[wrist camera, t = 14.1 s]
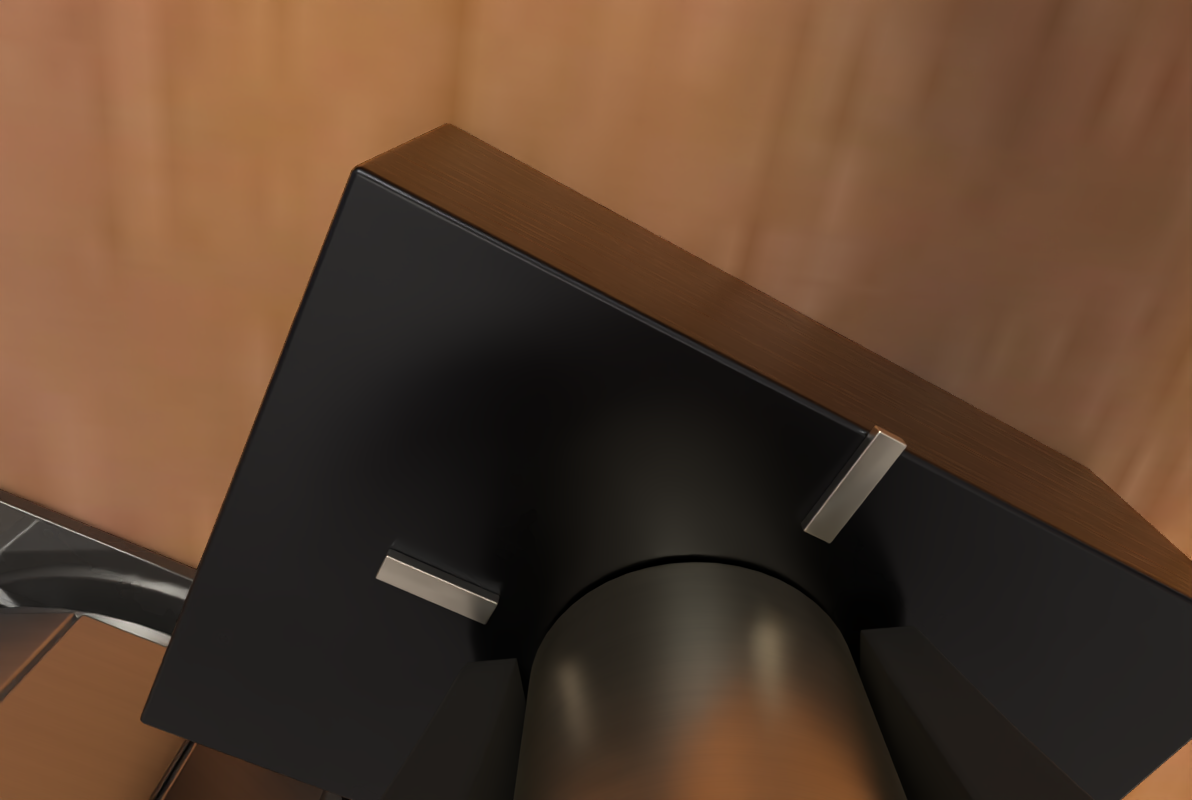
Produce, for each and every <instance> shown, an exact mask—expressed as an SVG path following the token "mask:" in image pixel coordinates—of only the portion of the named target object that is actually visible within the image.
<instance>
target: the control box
mask: <svg viewBox="0 0 1192 800" xmlns="http://www.w3.org/2000/svg"><path fill="white" fill-rule="evenodd" d="M683 562H711V563H721V564H728V565H735V566H740V567H744V568H748V569H751V570H755V571H759V572H762V573H764V574H767V575H769V576H772V577H774V578H777V579H779V580H781V581H783V582H785V583H787V584H788V585H790V586H792V587H794V588H796V589H797V590H799V591H800V592H802V593H803V594H804V595H806V596H807V597H808V598H810V599H811V600H812V601H814V602H815V603H816V604H817V605H818V606H819V607H820V608H821V609H822V610H823V611H824V612H825V613H826V614H827V615H828V616H829V617H830V618H831V619H832V621H833V622H834V624H835V625H836V626H837V628H838V629H839V630H840V632H841V634H842V636H843V638H844V640H845V642H846V644H847V645H848V648H849V650H850V653H851V655H852V658H853V661H854V663H855V666H856V668H857V671H858V674H859V676H860V633H861V630H868V629H880V628H892V627H905V626H914V627H916V628H917V629H918V630H919V631H921V632H922V633H923V634H924V635H925V636H926V637H927V638H928V639H929V640H930V641H931V642H932V643H933V644H934V645H935V647H936V648H937V649H938V650H939V651H940V652H941V653H942V654H943V655H944V656H945V657H946V658H947V659H948V660H949V661H950V662H951V663H952V664H953V665H954V666H955V667H956V668H957V669H958V670H959V671H960V672H961V673H962V674H963V675H964V676H965V677H966V678H967V679H968V680H969V681H970V682H971V683H972V684H973V685H974V686H975V687H976V688H977V689H978V690H979V691H980V692H981V693H982V694H983V695H984V696H985V697H986V698H987V699H988V700H989V701H990V702H991V703H992V704H993V705H994V706H995V707H996V708H997V709H998V710H999V711H1000V712H1001V713H1002V714H1003V715H1004V716H1005V717H1006V718H1007V719H1008V720H1009V721H1010V722H1011V723H1012V724H1013V725H1014V726H1015V727H1016V728H1017V729H1018V730H1020V731H1021V732H1022V733H1023V734H1024V735H1025V736H1026V737H1027V738H1028V739H1029V740H1030V741H1031V742H1032V743H1033V744H1034V745H1035V746H1037V747H1038V748H1039V749H1040V750H1041V751H1042V752H1043V753H1044V754H1045V755H1046V756H1047V757H1048V758H1050V759H1051V760H1052V761H1053V762H1054V763H1055V764H1056V765H1057V766H1058V767H1059V768H1060V769H1061V770H1063V771H1064V772H1065V773H1066V774H1067V775H1068V776H1069V777H1070V778H1071V779H1072V780H1073V781H1074V782H1076V783H1077V784H1078V785H1079V786H1080V787H1081V788H1082V789H1083V790H1084V791H1086V792H1087V793H1088V794H1089V795H1090V796H1091V797H1092V798H1093V799H1095V800H1121V799H1123V798H1124V797H1125V796H1126V795H1127V794H1128V793H1130V792H1131V791H1132V790H1133V789H1134V788H1135V787H1137V786H1138V785H1139V784H1140V783H1141V782H1142V781H1143V780H1145V779H1146V778H1147V777H1148V776H1149V775H1150V774H1152V773H1153V772H1154V771H1155V770H1156V769H1157V768H1159V767H1160V766H1161V765H1162V764H1163V763H1164V762H1166V761H1167V760H1168V759H1169V758H1170V757H1171V756H1173V755H1174V754H1175V753H1176V752H1177V751H1178V750H1180V749H1181V748H1182V747H1183V746H1184V745H1185V744H1187V743H1188V742H1189V741H1190V740H1191V739H1192V561H1191V560H1190V559H1189V558H1188V557H1187V556H1186V555H1184V554H1183V553H1182V552H1181V551H1180V550H1179V549H1178V548H1177V547H1176V546H1174V545H1173V544H1172V543H1171V542H1170V541H1169V540H1168V539H1167V538H1166V537H1164V536H1163V535H1162V534H1161V533H1160V532H1159V531H1158V530H1157V529H1155V528H1154V527H1153V526H1152V525H1151V524H1150V523H1149V522H1148V521H1147V520H1145V519H1144V518H1143V517H1142V516H1141V515H1140V514H1139V513H1138V512H1137V511H1135V510H1134V509H1133V508H1132V507H1131V506H1130V505H1129V504H1128V503H1126V502H1125V501H1124V500H1123V499H1122V498H1121V497H1120V496H1119V495H1118V494H1116V493H1115V492H1114V491H1113V490H1112V489H1111V488H1110V487H1109V486H1108V485H1106V484H1105V483H1104V482H1103V481H1102V480H1101V479H1100V478H1099V477H1097V476H1096V475H1095V474H1094V473H1093V472H1092V471H1091V470H1090V469H1088V468H1086V467H1085V466H1083V465H1081V464H1079V463H1077V462H1075V461H1073V460H1072V459H1070V458H1068V457H1066V456H1064V455H1062V454H1061V453H1059V452H1057V451H1055V450H1053V449H1051V448H1049V447H1048V446H1046V445H1044V444H1042V443H1040V442H1038V441H1036V440H1035V439H1033V438H1031V437H1029V436H1027V435H1025V434H1024V433H1022V432H1020V431H1018V430H1016V429H1014V428H1012V427H1011V426H1009V425H1007V424H1005V423H1003V422H1001V421H999V420H998V419H996V418H994V417H992V416H990V415H988V414H987V413H985V412H983V411H981V410H979V409H977V408H975V407H974V406H972V405H970V404H968V403H966V402H964V401H962V400H961V399H959V398H957V397H955V396H953V395H951V394H950V393H948V392H946V391H944V390H942V389H940V388H938V387H937V386H935V385H933V384H931V383H929V382H927V381H925V380H924V379H922V378H920V377H918V376H916V375H914V374H913V373H911V372H909V371H907V370H905V369H903V368H901V367H900V366H898V365H896V364H894V363H892V362H890V361H888V360H887V359H885V358H883V357H881V356H879V355H877V354H876V353H874V352H872V351H870V350H868V349H866V348H864V347H863V346H861V345H859V344H857V343H855V342H853V341H851V340H850V339H848V338H846V337H844V336H842V335H840V334H839V333H837V332H835V331H833V330H831V329H829V328H827V327H826V326H824V325H822V324H820V323H818V322H816V321H814V320H813V319H811V318H809V317H807V316H805V315H803V314H801V313H800V312H798V311H796V310H794V309H792V308H790V307H789V306H787V305H785V304H783V303H781V302H779V301H777V300H776V299H774V298H772V297H770V296H768V295H766V294H764V293H763V292H761V291H759V290H757V289H755V288H753V287H752V286H750V285H748V284H746V283H744V282H742V281H740V280H739V279H737V278H735V277H733V276H731V275H729V274H727V273H726V272H724V271H722V270H720V269H718V268H716V267H715V266H713V265H711V264H709V263H707V262H705V261H703V260H702V259H700V258H698V257H696V256H694V255H692V254H690V253H689V252H687V251H685V250H683V249H681V248H679V247H678V246H676V245H674V244H672V243H670V242H668V241H666V240H665V239H663V238H661V237H659V236H657V235H655V234H653V233H652V232H650V231H648V230H646V229H644V228H642V227H641V226H639V225H637V224H635V223H633V222H631V221H629V220H628V219H626V218H624V217H622V216H620V215H618V214H616V213H615V212H613V211H611V210H609V209H607V208H605V207H604V206H602V205H600V204H598V203H596V202H594V201H592V200H591V199H589V198H587V197H585V196H583V195H581V194H579V193H578V192H576V191H574V190H572V189H570V188H568V187H567V186H565V185H563V184H561V183H559V182H557V181H555V180H554V179H552V178H550V177H548V176H546V175H544V174H542V173H541V172H539V171H537V170H535V169H533V168H531V167H530V166H528V165H526V164H524V163H522V162H520V161H518V160H517V159H515V158H513V157H511V156H509V155H507V154H505V153H504V152H502V151H500V150H498V149H496V148H494V147H493V146H491V145H489V144H487V143H485V142H483V141H481V140H480V139H478V138H476V137H474V136H472V135H470V134H468V133H467V132H465V131H463V130H461V129H459V128H457V127H455V126H454V125H452V124H447V123H446V124H444V125H442V126H440V127H438V128H435V129H433V130H431V131H429V132H427V133H425V134H423V135H421V136H418V137H416V138H414V139H412V140H410V141H408V142H406V143H404V144H401V145H399V146H397V147H395V148H393V149H391V150H389V151H386V152H384V153H382V154H380V155H378V156H376V157H374V158H372V159H369V160H367V161H365V162H363V163H361V164H359V165H357V166H355V167H354V168H353V169H352V170H351V173H350V176H349V178H348V181H347V183H346V186H345V188H344V191H343V194H342V196H341V199H340V201H339V204H338V207H337V209H336V212H335V214H334V217H333V219H332V222H331V225H330V227H329V230H328V232H327V235H326V238H325V240H324V243H323V245H322V248H321V250H320V253H319V256H318V258H317V261H316V263H315V266H314V269H313V271H312V274H311V276H310V279H309V281H308V284H307V287H306V289H305V292H304V294H303V297H302V300H301V302H300V305H299V307H298V310H297V312H296V315H295V318H294V320H293V323H292V325H291V328H290V331H289V333H288V336H287V338H286V341H285V343H284V346H283V349H282V351H281V354H280V356H279V359H278V362H277V364H276V367H275V369H274V372H273V374H272V377H271V380H270V382H269V385H268V387H267V390H266V393H265V395H264V398H263V400H262V403H261V405H260V408H259V411H258V413H257V416H256V418H255V421H254V424H253V426H252V429H251V431H250V434H249V436H248V439H247V442H246V444H245V447H244V449H243V452H242V455H241V457H240V460H239V462H238V465H237V467H236V470H235V473H234V475H233V478H232V480H231V483H230V486H229V488H228V491H227V493H226V496H225V498H224V501H223V504H222V506H221V509H220V511H219V514H218V517H217V519H216V522H215V524H214V527H213V529H212V532H211V535H210V537H209V540H208V542H207V545H206V548H205V550H204V553H203V555H202V558H201V560H200V563H199V566H198V568H197V571H196V573H195V576H194V579H193V581H192V584H191V586H190V589H189V591H188V594H187V597H186V599H185V602H184V604H183V607H182V610H181V612H180V615H179V617H178V620H177V622H176V625H175V628H174V630H173V633H172V635H171V638H170V641H169V643H168V646H167V648H166V651H165V653H164V656H163V659H162V661H161V664H160V666H159V669H158V672H157V674H156V677H155V679H154V682H153V684H152V687H151V690H150V692H149V695H148V697H147V700H146V703H145V705H144V708H143V710H142V713H141V717H140V721H141V722H142V723H143V724H146V725H148V726H151V727H154V728H157V729H159V730H162V731H165V732H167V733H170V734H173V735H176V736H178V737H181V738H184V739H186V740H189V741H192V742H195V743H197V744H200V745H203V746H205V747H208V748H211V749H213V750H216V751H219V752H222V753H224V754H227V755H230V756H232V757H235V758H238V759H241V760H243V761H246V762H249V763H251V764H254V765H257V766H260V767H262V768H265V769H268V770H270V771H273V772H276V773H278V774H281V775H284V776H287V777H289V778H292V779H295V780H297V781H300V782H303V783H306V784H308V785H311V786H314V787H316V788H319V789H322V790H324V791H327V792H330V793H333V794H335V795H338V796H341V797H343V798H346V799H349V800H380V798H381V797H382V795H383V794H384V792H385V791H386V789H387V788H388V786H389V785H390V783H391V782H392V780H393V779H394V777H395V776H396V774H397V773H398V771H399V770H400V768H401V767H402V765H403V764H404V762H405V761H406V759H407V757H408V756H409V754H410V753H411V751H412V749H413V748H414V746H415V745H416V743H417V741H418V740H419V738H420V737H421V735H422V734H423V732H424V730H425V729H426V727H427V725H428V724H429V722H430V721H431V719H432V717H433V716H434V714H435V712H436V711H437V709H438V707H439V706H440V704H441V702H442V701H443V699H444V697H445V696H446V694H447V692H448V691H449V689H450V687H451V685H452V684H453V682H454V680H455V679H456V677H457V675H458V674H459V672H460V670H461V669H462V668H463V667H464V666H465V665H466V664H467V663H468V662H477V661H490V660H502V659H514V658H517V662H518V667H519V672H520V676H521V681H522V686H523V691H524V695H525V700H526V703H527V696H528V688H529V681H530V675H531V669H532V665H533V662H534V659H535V656H536V653H537V650H538V648H539V647H540V645H541V643H542V641H543V639H544V637H545V636H546V634H547V633H548V631H549V630H550V629H551V627H552V626H553V625H554V623H555V622H556V621H557V619H558V618H559V617H560V616H561V615H562V614H563V613H564V612H565V611H566V610H567V609H568V608H569V607H570V606H571V605H572V604H574V603H575V602H576V601H578V600H579V599H580V598H582V597H583V596H584V595H586V594H587V593H588V592H590V591H592V590H594V589H595V588H597V587H599V586H601V585H602V584H604V583H606V582H608V581H610V580H613V579H615V578H618V577H620V576H622V575H625V574H627V573H631V572H634V571H637V570H641V569H644V568H648V567H653V566H658V565H664V564H670V563H683Z"/></svg>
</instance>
